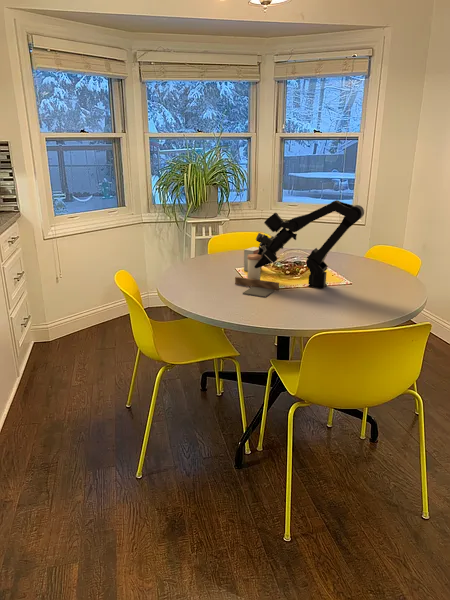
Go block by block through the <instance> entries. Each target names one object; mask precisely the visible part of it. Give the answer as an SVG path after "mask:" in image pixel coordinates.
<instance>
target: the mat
mask: <svg viewBox="0 0 450 600" xmlns="http://www.w3.org/2000/svg"><path fill="white" fill-rule="evenodd" d="M273 292H275V290H273V289H266V288H260V287H252V286H250V287H249V288H248V289H246V290H244V291H243V292H242V295H247V296H253V297H260V298H267V297H268V296H269V295H271V294H273Z"/></svg>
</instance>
